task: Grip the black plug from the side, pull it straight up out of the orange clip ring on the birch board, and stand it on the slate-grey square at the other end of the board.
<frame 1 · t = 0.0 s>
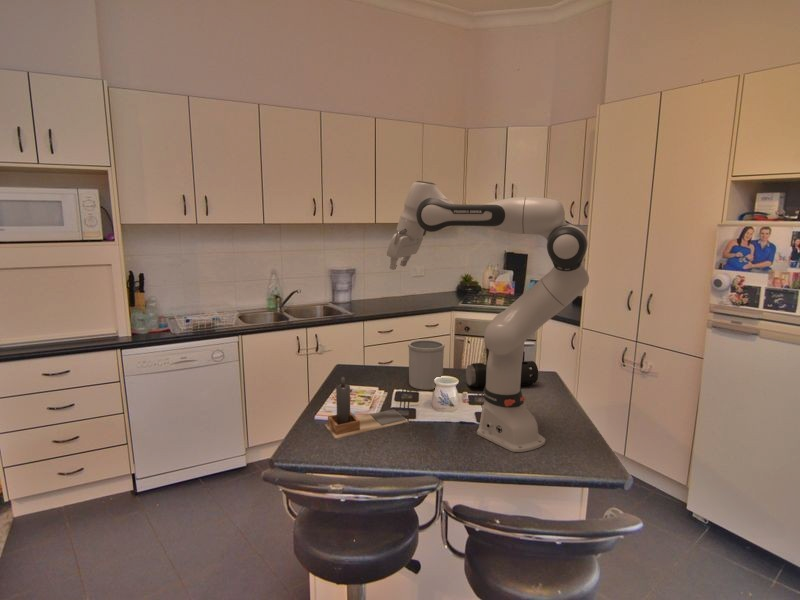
hand: (397, 267, 160), 52 cm above the kitchen island, tool tilted 20°, fingers open, 8 cm apart
plug: (343, 427, 153), point 1 cm above the kitchen island, touching cable board
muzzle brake: (500, 386, 194), on the kitchen island
utensil holder: (425, 384, 195), on the kitchen island
cable board: (366, 427, 157), on the kitchen island
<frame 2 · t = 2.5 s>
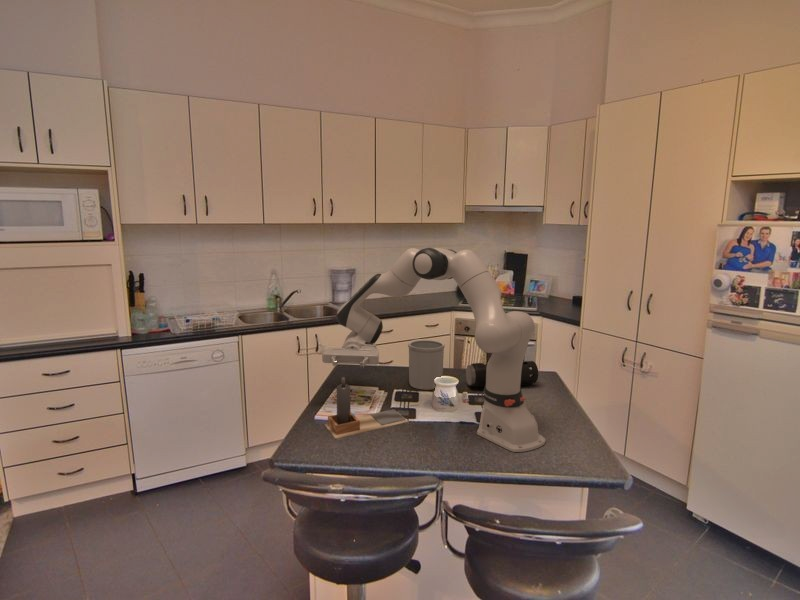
hand: (348, 364, 162), 19 cm above the kitchen island, tool horizontal, fingers open, 8 cm apart
nothing on the kitchen island moved.
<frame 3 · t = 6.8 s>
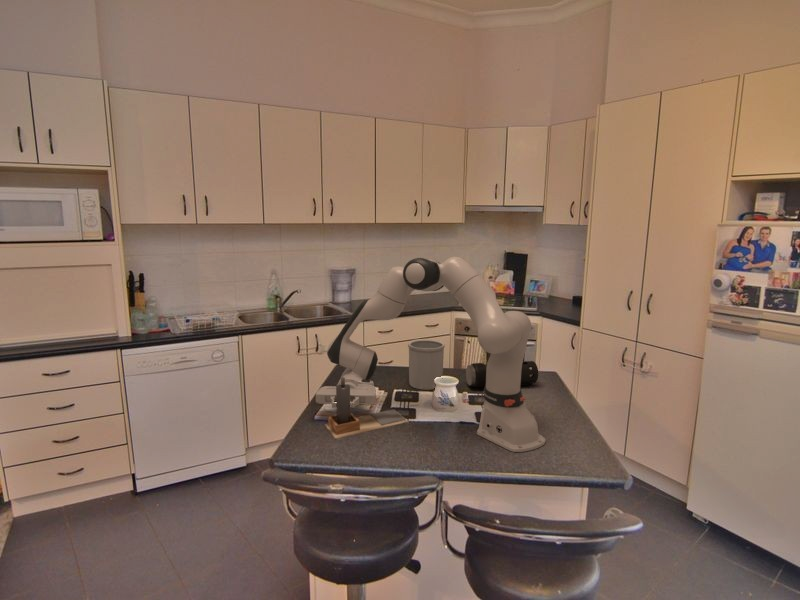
hand: (343, 405, 151), 10 cm above the kitchen island, tool horizontal, fingers closed on plug, 4 cm apart
plug: (343, 427, 153), point 2 cm above the kitchen island, touching cable board, gripper
everything else where it was.
when the fingers open (11 cm above the kitchen island, at t = 13.5 s): plug drops 1 cm, resting on cable board.
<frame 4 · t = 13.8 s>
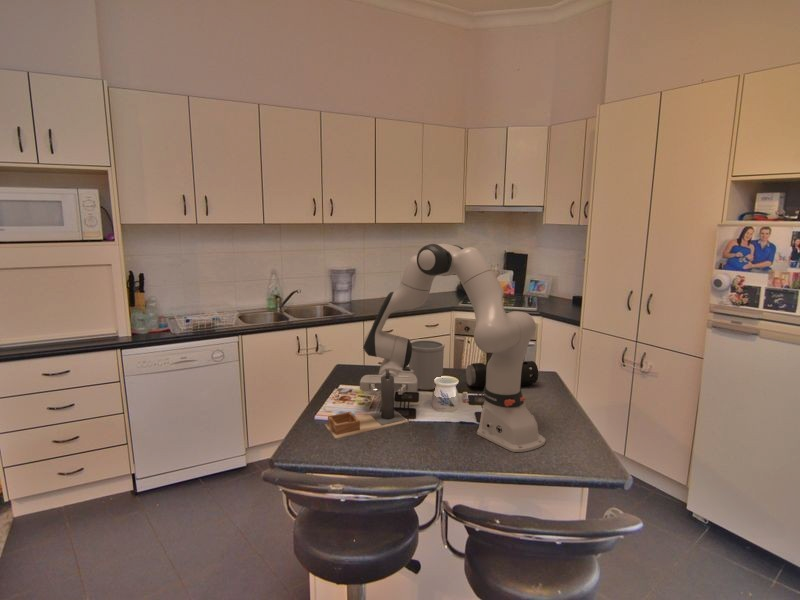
hand: (387, 392, 158), 11 cm above the kitchen island, tool horizontal, fingers open, 7 cm apart
plug: (387, 416, 161), point 2 cm above the kitchen island, touching cable board
everything else where it was.
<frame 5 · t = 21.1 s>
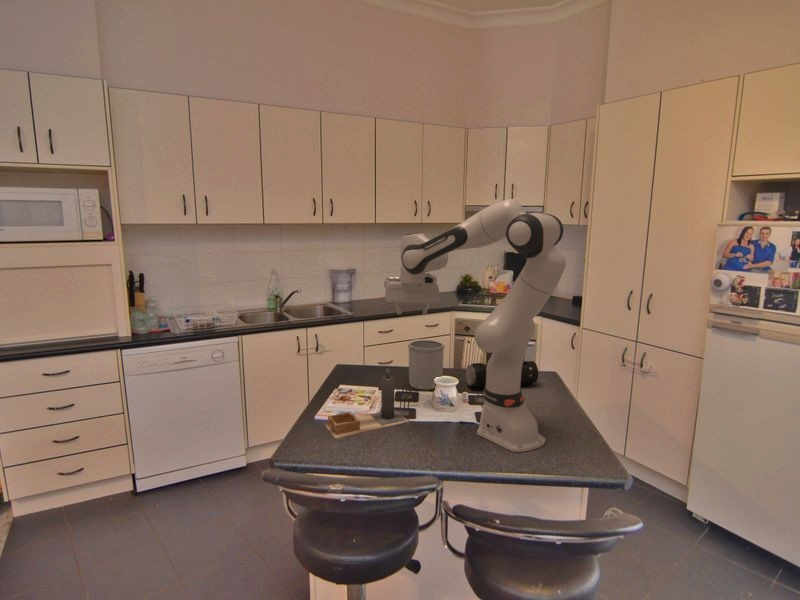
hand: (412, 314, 174), 33 cm above the kitchen island, tool pointing down, fingers open, 8 cm apart
nothing on the kitchen island moved.
at the end: plug inside the target area (0.0 cm from its centre), point 1.8 cm above the kitchen island; plug tilted 0°; the gripper is holding nothing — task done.
